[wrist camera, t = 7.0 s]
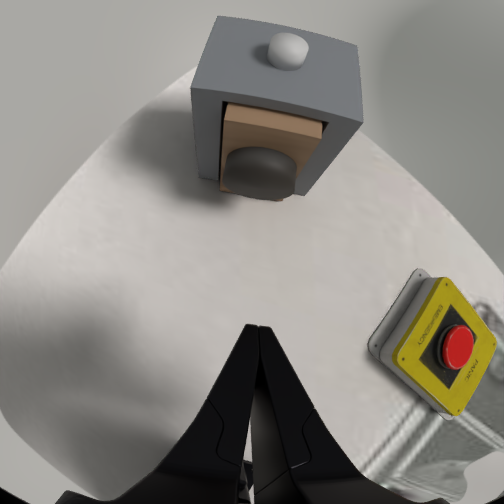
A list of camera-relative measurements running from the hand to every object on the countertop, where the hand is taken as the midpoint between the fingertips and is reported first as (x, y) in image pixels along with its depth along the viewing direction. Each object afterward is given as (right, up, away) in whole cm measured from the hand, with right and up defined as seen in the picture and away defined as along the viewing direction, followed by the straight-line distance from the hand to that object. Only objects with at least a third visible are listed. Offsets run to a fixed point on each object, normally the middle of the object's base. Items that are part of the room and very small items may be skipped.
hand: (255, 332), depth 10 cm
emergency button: (+18, -7, +15) cm, 24 cm away
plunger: (0, +9, +15) cm, 17 cm away
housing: (0, +11, +15) cm, 19 cm away
